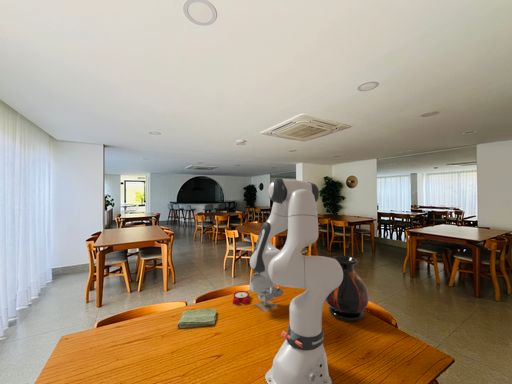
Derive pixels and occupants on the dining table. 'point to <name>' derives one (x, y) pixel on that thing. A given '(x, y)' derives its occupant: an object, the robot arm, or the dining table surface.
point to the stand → (266, 305)
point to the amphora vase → (348, 293)
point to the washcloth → (197, 318)
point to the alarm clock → (241, 297)
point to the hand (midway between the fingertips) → (265, 295)
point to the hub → (276, 291)
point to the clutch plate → (266, 295)
